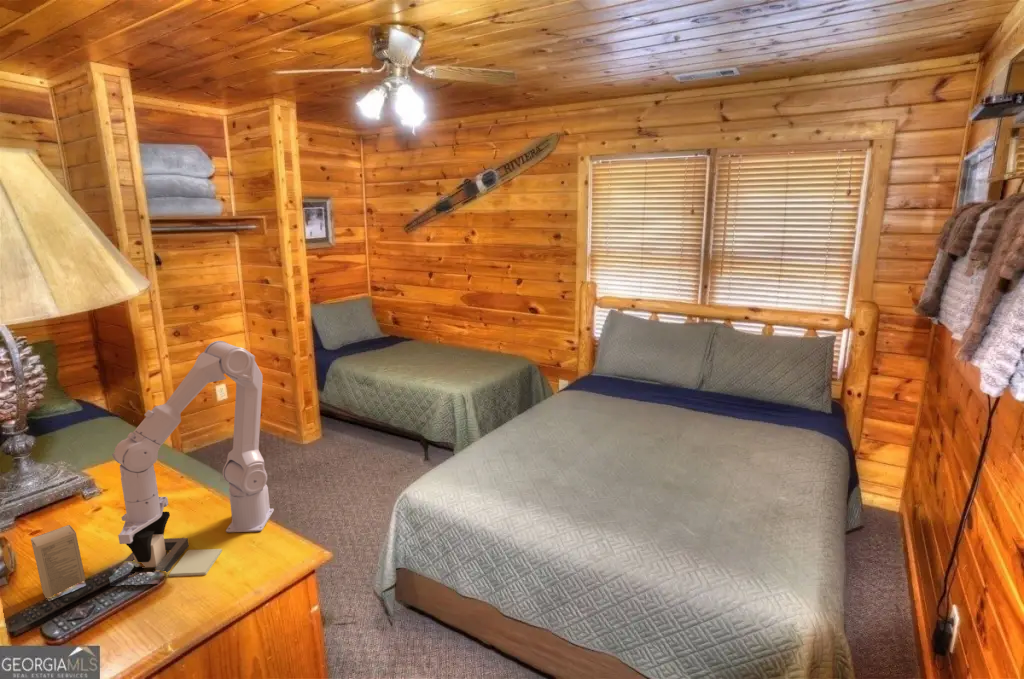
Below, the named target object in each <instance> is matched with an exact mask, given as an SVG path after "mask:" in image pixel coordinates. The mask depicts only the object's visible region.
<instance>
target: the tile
mask: <svg viewBox="0 0 1024 679" xmlns="http://www.w3.org/2000/svg"><path fill="white" fill-rule="evenodd" d="M222 552H223V548H211V549H209V548H208V549H207V548H206V549H187V550H186V552H185V553H183V554H184V555H183V556H182V557H180V559H179V561H177V562H176V565H174V566H173V567H172V570H171V571H170V572H169V573H168V575H169V577H185V576H186V577H187V576H190V577H191V576H205V575H207V574H208V572H209V571H210V569H211V568H212V566H213V565H214V563H215V562H216V561H217V559H218V558H219V557H220V555H221V553H222Z"/></svg>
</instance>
